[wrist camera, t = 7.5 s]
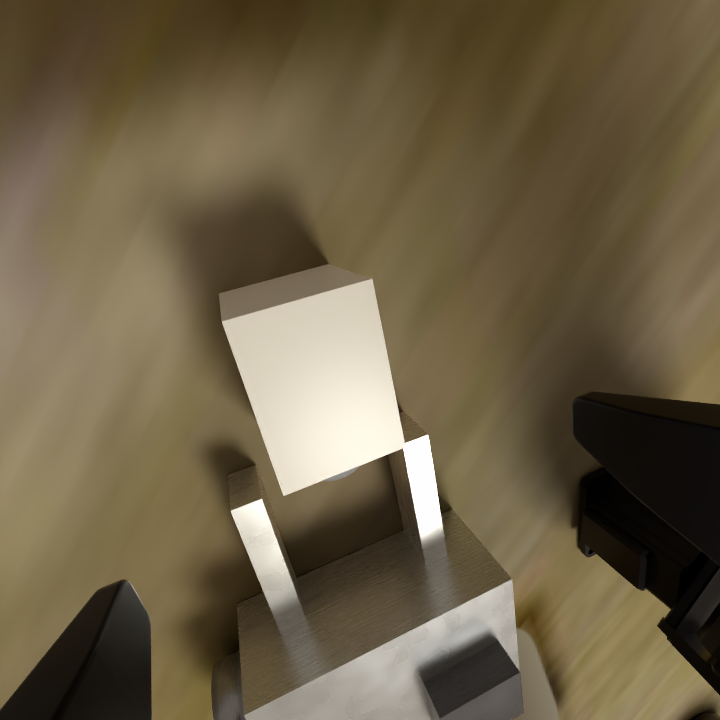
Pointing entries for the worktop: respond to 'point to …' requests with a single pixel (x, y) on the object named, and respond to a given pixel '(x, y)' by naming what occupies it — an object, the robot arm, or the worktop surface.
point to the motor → (373, 617)
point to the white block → (315, 372)
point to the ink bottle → (708, 716)
